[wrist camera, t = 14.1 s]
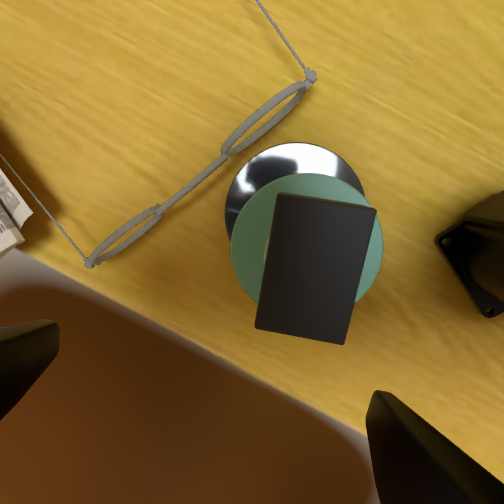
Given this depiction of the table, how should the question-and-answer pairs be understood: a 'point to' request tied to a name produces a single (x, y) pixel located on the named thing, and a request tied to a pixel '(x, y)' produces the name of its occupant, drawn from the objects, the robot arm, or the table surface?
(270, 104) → the eyeglasses
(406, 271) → the table surface
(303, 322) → the pale green rounded piece
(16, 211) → the newspaper
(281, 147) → the coaster
